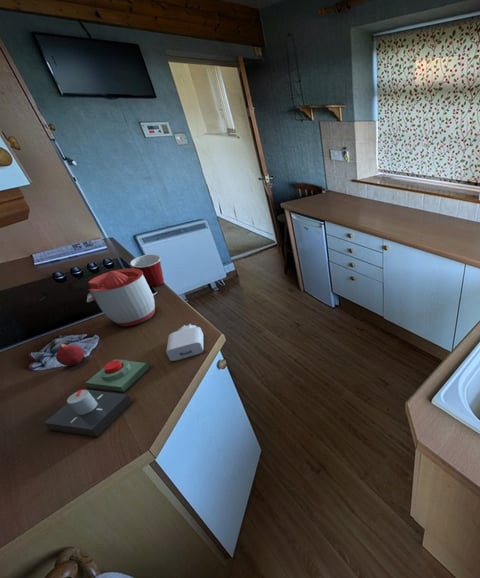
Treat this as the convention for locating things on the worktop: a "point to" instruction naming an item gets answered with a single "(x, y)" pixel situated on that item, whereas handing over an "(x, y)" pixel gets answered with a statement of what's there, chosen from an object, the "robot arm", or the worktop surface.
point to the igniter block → (118, 377)
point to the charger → (185, 342)
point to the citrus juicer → (123, 296)
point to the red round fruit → (69, 354)
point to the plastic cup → (149, 268)
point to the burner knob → (82, 402)
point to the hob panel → (90, 415)
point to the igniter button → (113, 366)
